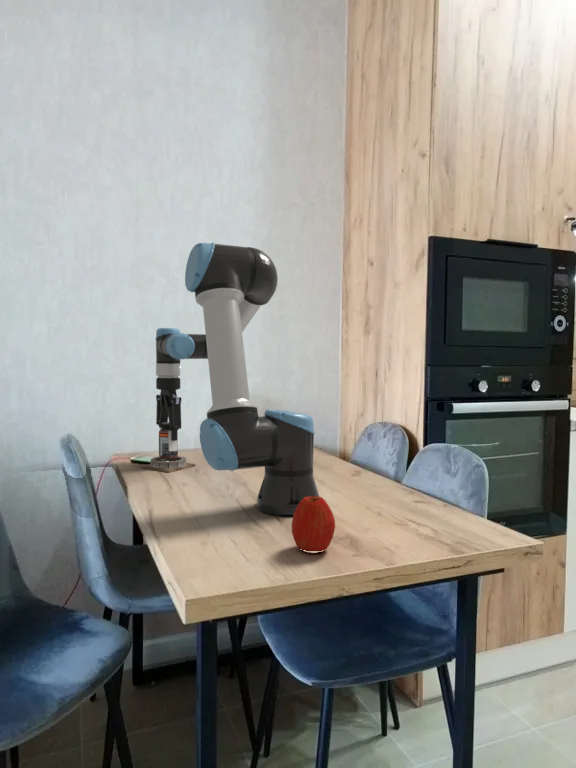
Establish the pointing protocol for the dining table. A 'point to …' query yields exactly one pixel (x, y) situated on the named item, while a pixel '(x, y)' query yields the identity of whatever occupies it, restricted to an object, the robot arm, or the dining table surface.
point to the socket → (168, 464)
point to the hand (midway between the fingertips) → (168, 448)
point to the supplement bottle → (165, 443)
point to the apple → (313, 524)
